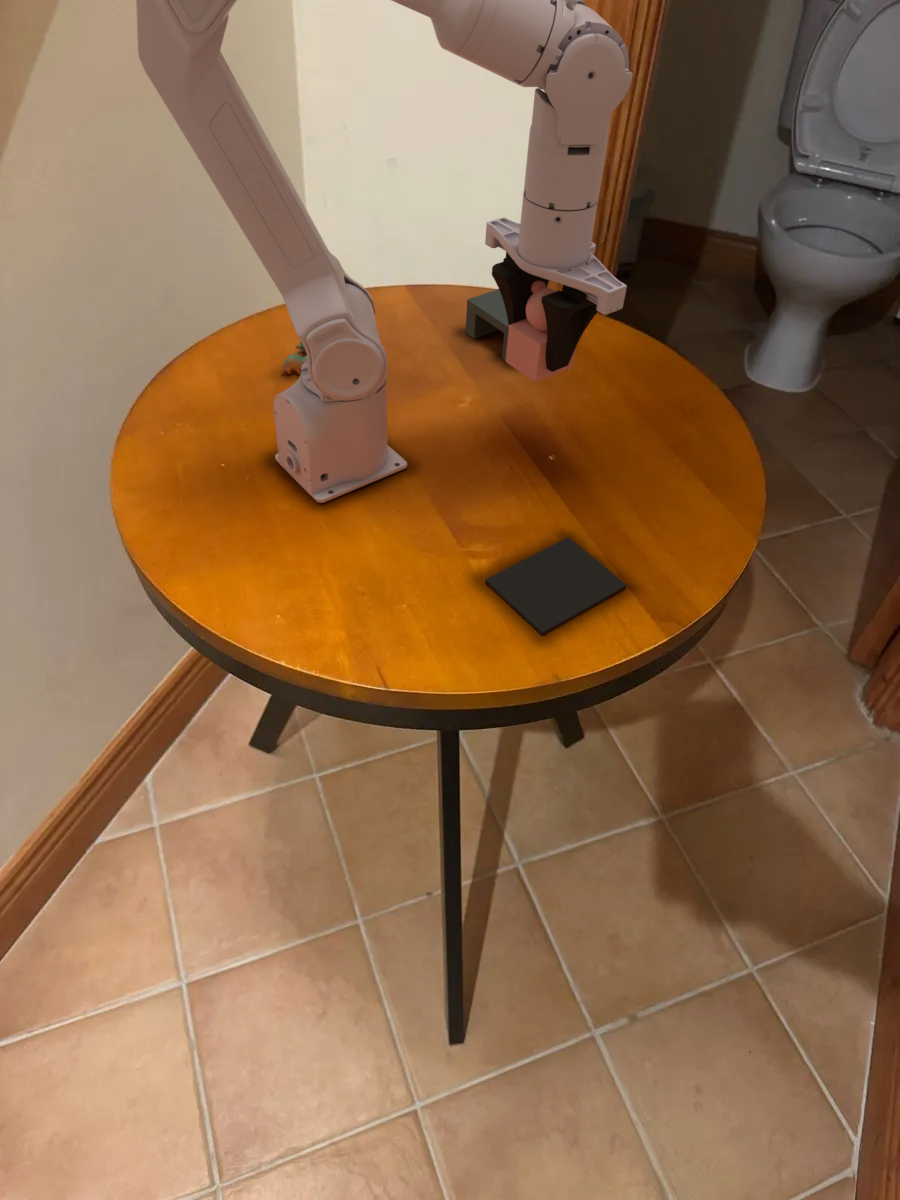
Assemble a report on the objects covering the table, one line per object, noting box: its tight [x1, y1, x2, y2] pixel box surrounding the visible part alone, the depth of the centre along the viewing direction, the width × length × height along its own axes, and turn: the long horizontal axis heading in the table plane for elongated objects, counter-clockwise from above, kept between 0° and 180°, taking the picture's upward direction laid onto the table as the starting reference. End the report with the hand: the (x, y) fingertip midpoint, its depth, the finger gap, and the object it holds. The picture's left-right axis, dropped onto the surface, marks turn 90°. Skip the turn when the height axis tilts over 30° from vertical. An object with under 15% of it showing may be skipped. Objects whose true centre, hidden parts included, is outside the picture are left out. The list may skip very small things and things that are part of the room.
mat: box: [484, 536, 628, 636], centre depth 73 cm, size 9×7×1 cm
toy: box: [505, 281, 577, 383], centre depth 77 cm, size 4×4×7 cm
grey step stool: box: [464, 288, 509, 362], centre depth 98 cm, size 6×8×4 cm
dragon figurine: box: [280, 341, 307, 377], centre depth 92 cm, size 7×7×8 cm
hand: (540, 355), depth 78 cm, fingers closed on toy, 4 cm apart
